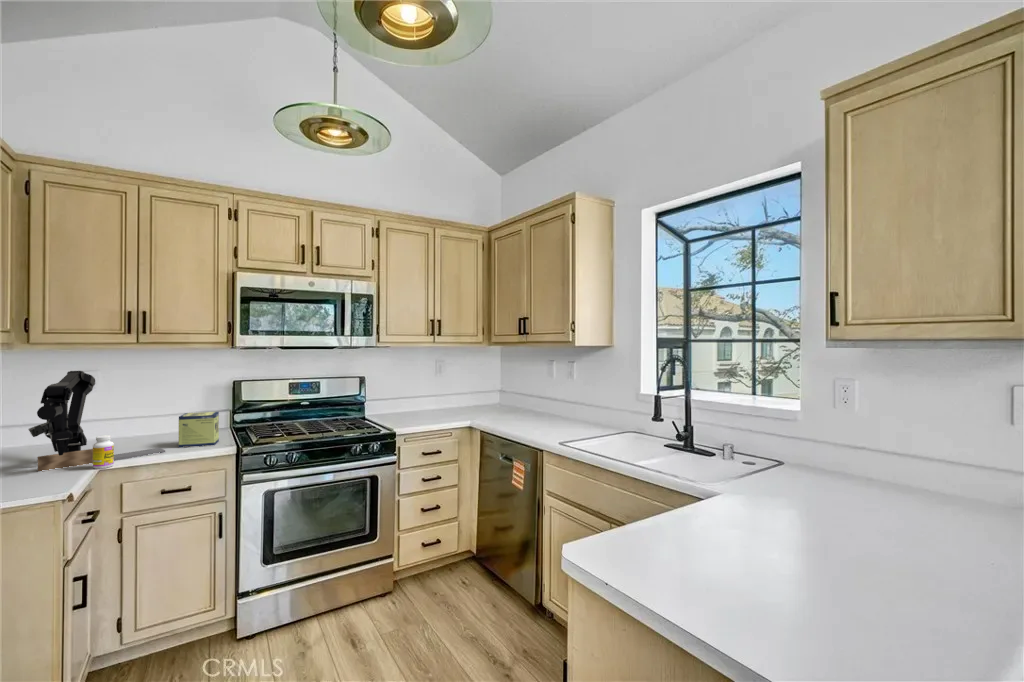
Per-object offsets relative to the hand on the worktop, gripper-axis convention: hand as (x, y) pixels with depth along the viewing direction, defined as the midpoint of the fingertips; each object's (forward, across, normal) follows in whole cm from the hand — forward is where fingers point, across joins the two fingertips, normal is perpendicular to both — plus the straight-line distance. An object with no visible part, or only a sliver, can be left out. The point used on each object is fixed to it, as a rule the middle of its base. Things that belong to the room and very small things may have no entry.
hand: (58, 453), depth 194 cm
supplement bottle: (+6, +12, +12) cm, 18 cm away
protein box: (+6, -3, +52) cm, 52 cm away
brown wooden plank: (+6, 0, +3) cm, 7 cm away
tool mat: (+6, -1, +25) cm, 26 cm away
